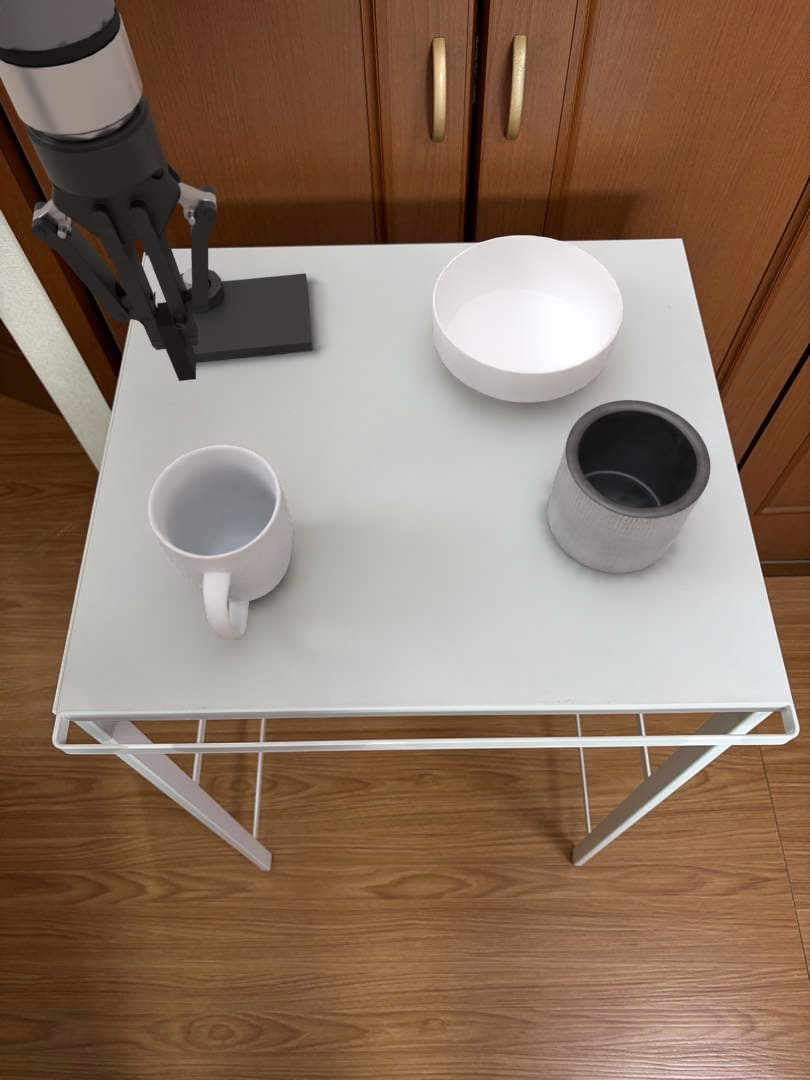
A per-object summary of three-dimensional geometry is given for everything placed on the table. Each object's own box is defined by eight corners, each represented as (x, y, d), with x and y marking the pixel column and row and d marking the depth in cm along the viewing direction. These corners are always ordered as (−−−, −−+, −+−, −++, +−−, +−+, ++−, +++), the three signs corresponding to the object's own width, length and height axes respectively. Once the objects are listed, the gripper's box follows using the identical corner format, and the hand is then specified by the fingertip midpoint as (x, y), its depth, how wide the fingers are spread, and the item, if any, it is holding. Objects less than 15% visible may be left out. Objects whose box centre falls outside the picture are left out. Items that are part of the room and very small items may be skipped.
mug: (301, 658, 68) (277, 601, 56) (180, 664, 68) (131, 608, 56) (304, 516, 75) (284, 439, 63) (195, 521, 75) (154, 445, 63)
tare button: (186, 296, 86) (182, 284, 84) (186, 280, 87) (182, 268, 85) (209, 294, 86) (205, 282, 84) (209, 278, 87) (205, 266, 86)
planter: (533, 558, 72) (551, 498, 62) (558, 455, 78) (579, 384, 68) (664, 591, 70) (704, 534, 60) (680, 483, 76) (719, 415, 66)
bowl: (606, 435, 79) (625, 382, 71) (421, 418, 80) (421, 365, 73) (605, 300, 88) (622, 241, 80) (439, 287, 89) (441, 228, 82)
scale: (178, 364, 84) (170, 345, 82) (181, 289, 90) (173, 270, 87) (312, 350, 85) (309, 331, 82) (307, 277, 91) (303, 257, 88)
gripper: (191, 60, 47) (259, 329, 68) (-18, 79, 47) (115, 345, 67) (191, 132, 44) (263, 392, 65) (-35, 154, 43) (111, 410, 64)
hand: (187, 368), depth 66 cm, fingers closed
